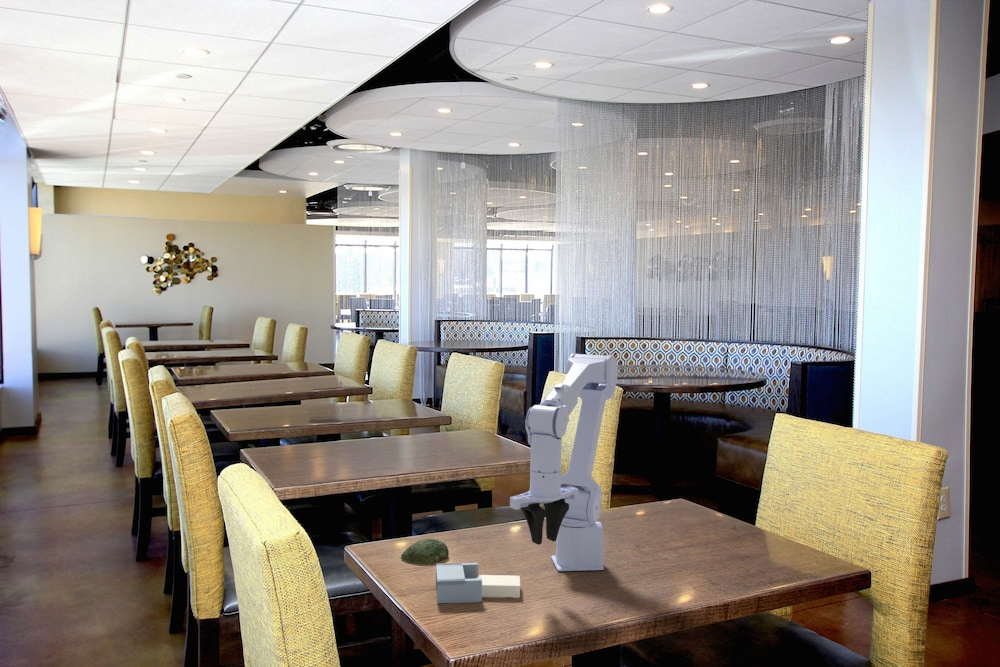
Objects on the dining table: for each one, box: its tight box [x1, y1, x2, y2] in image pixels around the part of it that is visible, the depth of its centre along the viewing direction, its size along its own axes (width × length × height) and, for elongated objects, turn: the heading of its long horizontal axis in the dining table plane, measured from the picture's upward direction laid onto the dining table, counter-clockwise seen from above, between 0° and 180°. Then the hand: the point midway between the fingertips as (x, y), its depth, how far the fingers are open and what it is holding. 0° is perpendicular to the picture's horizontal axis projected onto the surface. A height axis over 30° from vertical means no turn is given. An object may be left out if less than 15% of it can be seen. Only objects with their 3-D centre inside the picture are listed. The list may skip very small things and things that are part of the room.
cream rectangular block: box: [477, 574, 521, 599], centre depth 145 cm, size 8×5×3 cm, turn 90°
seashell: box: [400, 538, 450, 566], centre depth 163 cm, size 10×4×10 cm
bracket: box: [435, 562, 483, 604], centre depth 144 cm, size 8×9×4 cm
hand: (544, 541), depth 145 cm, fingers open, 3 cm apart
